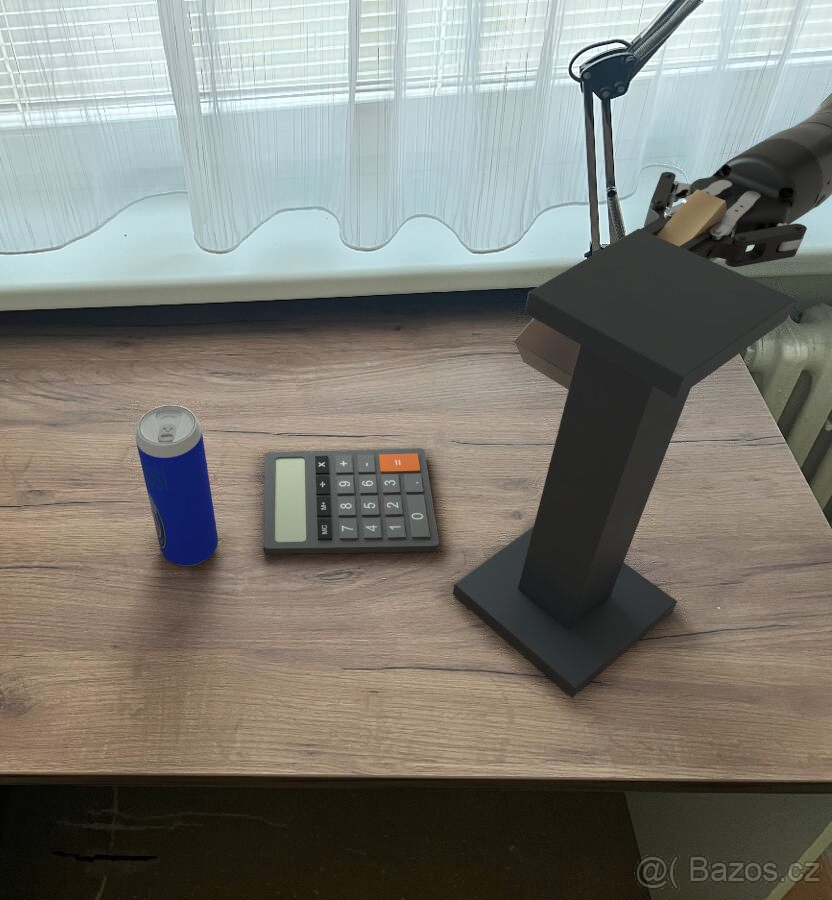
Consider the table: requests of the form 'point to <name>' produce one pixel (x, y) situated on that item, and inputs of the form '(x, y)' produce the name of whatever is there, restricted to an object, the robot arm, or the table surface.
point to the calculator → (348, 502)
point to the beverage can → (177, 483)
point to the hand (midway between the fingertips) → (657, 254)
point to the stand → (613, 447)
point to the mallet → (560, 352)
